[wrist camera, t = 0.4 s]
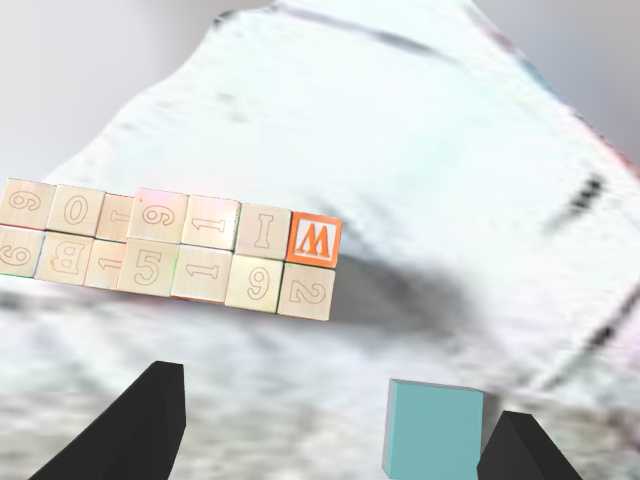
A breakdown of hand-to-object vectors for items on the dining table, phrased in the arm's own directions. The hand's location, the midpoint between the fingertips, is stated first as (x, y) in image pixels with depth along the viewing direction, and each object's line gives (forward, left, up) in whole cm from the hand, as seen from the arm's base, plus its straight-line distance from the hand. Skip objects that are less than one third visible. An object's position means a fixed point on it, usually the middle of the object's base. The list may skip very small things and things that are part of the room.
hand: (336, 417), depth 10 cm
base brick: (-6, -12, -27) cm, 30 cm away
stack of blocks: (+5, +9, -27) cm, 29 cm away
